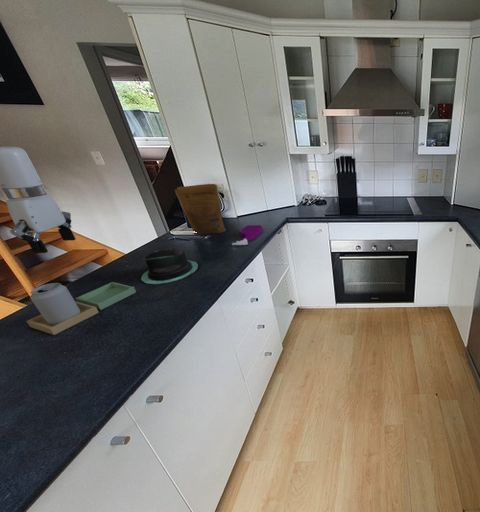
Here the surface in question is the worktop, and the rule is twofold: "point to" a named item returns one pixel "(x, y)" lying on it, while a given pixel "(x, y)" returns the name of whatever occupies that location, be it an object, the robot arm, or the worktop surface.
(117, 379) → the worktop surface
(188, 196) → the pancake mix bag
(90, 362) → the worktop surface
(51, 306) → the can
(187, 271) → the black and teal hat
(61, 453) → the worktop surface
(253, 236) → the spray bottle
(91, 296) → the far tray
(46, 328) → the near tray
